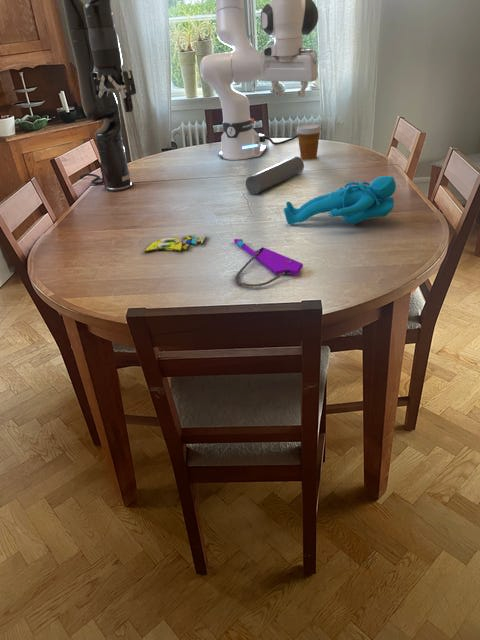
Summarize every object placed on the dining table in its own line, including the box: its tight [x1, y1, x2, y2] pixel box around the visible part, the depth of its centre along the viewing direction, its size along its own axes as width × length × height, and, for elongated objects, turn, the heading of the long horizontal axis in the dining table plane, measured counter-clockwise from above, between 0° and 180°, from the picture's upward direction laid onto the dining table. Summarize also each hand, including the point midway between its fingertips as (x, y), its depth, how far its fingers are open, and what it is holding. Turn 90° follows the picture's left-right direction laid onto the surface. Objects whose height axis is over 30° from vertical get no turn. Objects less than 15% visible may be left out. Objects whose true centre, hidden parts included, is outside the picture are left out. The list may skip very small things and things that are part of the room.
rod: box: [245, 155, 305, 195], centre depth 167 cm, size 26×6×6 cm, turn 140°
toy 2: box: [283, 175, 397, 226], centre depth 132 cm, size 17×11×30 cm
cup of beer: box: [296, 123, 322, 161], centre depth 190 cm, size 10×10×12 cm
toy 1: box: [144, 234, 207, 254], centre depth 130 cm, size 10×1×15 cm
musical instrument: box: [233, 238, 304, 287], centre depth 115 cm, size 24×2×20 cm
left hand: (118, 111), depth 137 cm, fingers open, 8 cm apart
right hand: (289, 96), depth 160 cm, fingers open, 8 cm apart
